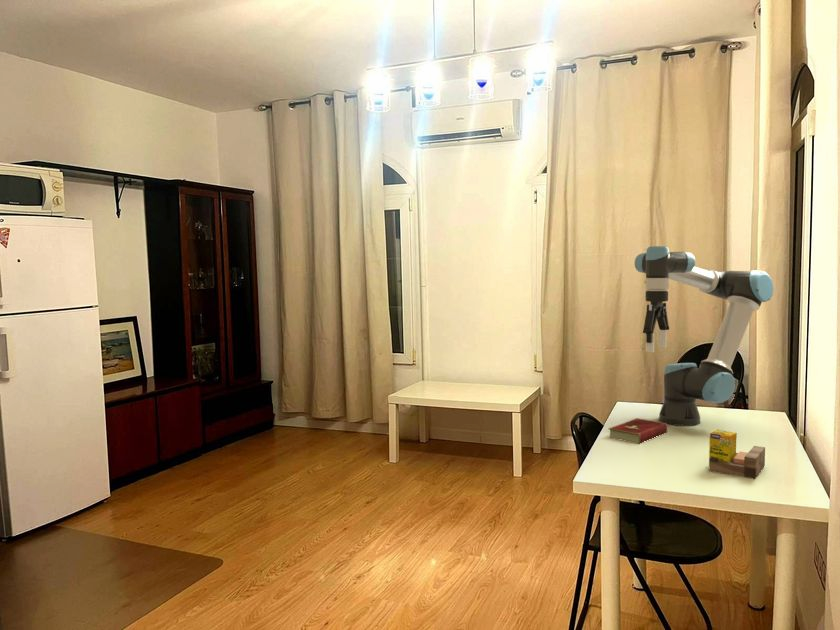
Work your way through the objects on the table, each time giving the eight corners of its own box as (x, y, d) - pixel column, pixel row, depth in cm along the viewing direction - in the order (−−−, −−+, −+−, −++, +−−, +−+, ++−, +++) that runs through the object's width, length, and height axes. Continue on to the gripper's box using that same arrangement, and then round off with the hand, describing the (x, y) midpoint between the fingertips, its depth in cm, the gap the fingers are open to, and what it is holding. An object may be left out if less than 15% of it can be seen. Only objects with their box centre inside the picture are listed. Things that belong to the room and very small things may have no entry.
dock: (720, 459, 202) (720, 440, 202) (764, 466, 195) (765, 447, 194) (709, 470, 191) (709, 451, 191) (755, 479, 184) (755, 458, 183)
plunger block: (739, 464, 196) (739, 451, 196) (750, 465, 194) (750, 453, 194) (733, 471, 190) (733, 458, 189) (744, 473, 188) (744, 459, 188)
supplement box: (708, 468, 194) (709, 432, 193) (715, 463, 198) (716, 428, 198) (729, 472, 190) (729, 436, 189) (736, 467, 194) (736, 432, 194)
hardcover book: (667, 434, 235) (667, 422, 235) (639, 445, 221) (639, 433, 220) (636, 428, 244) (636, 417, 244) (608, 439, 229) (608, 427, 229)
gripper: (657, 288, 237) (656, 345, 238) (633, 291, 217) (633, 353, 219) (678, 289, 232) (677, 346, 234) (656, 291, 213) (655, 354, 214)
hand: (656, 350), depth 226 cm, fingers open, 13 cm apart
